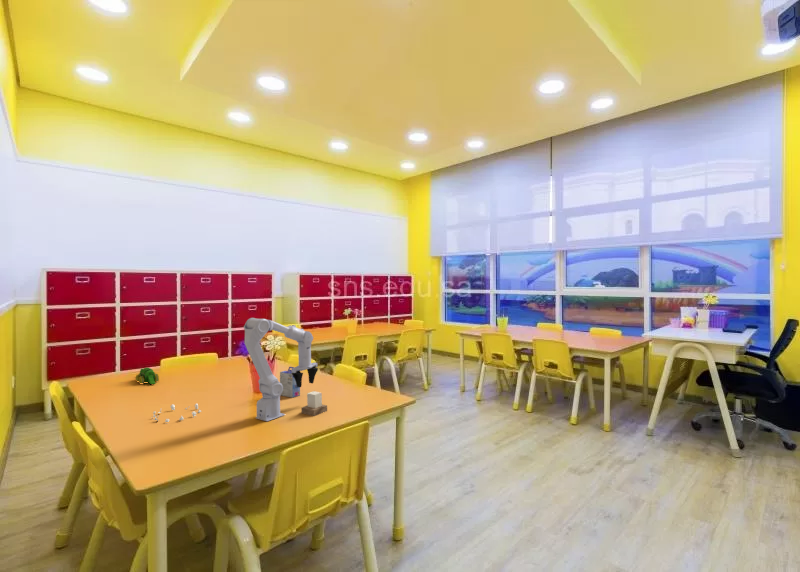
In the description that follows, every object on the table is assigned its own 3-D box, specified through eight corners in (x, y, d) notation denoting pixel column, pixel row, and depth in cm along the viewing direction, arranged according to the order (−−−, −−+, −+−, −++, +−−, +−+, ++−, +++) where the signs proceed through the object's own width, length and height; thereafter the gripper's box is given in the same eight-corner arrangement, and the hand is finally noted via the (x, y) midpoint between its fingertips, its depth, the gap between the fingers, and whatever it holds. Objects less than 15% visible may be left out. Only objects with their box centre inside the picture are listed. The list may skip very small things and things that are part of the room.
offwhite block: (315, 408, 174) (315, 395, 174) (307, 406, 177) (307, 393, 177) (321, 405, 178) (321, 392, 178) (314, 404, 180) (313, 391, 180)
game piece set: (155, 413, 181) (154, 404, 181) (203, 406, 189) (203, 398, 188) (146, 427, 163) (146, 418, 163) (200, 419, 171) (200, 411, 171)
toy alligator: (147, 375, 254) (147, 362, 254) (162, 384, 232) (161, 369, 231) (130, 378, 247) (129, 364, 247) (143, 387, 225) (142, 372, 225)
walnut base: (314, 417, 172) (314, 410, 172) (301, 414, 176) (301, 407, 176) (327, 412, 178) (327, 405, 178) (314, 409, 183) (314, 402, 183)
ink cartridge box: (301, 395, 204) (300, 367, 203) (292, 398, 199) (292, 369, 199) (287, 392, 209) (287, 365, 209) (279, 395, 204) (278, 367, 204)
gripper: (298, 359, 178) (299, 389, 178) (321, 354, 190) (322, 382, 190) (288, 358, 181) (288, 387, 182) (311, 353, 194) (312, 380, 194)
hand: (305, 385), depth 186 cm, fingers open, 7 cm apart
